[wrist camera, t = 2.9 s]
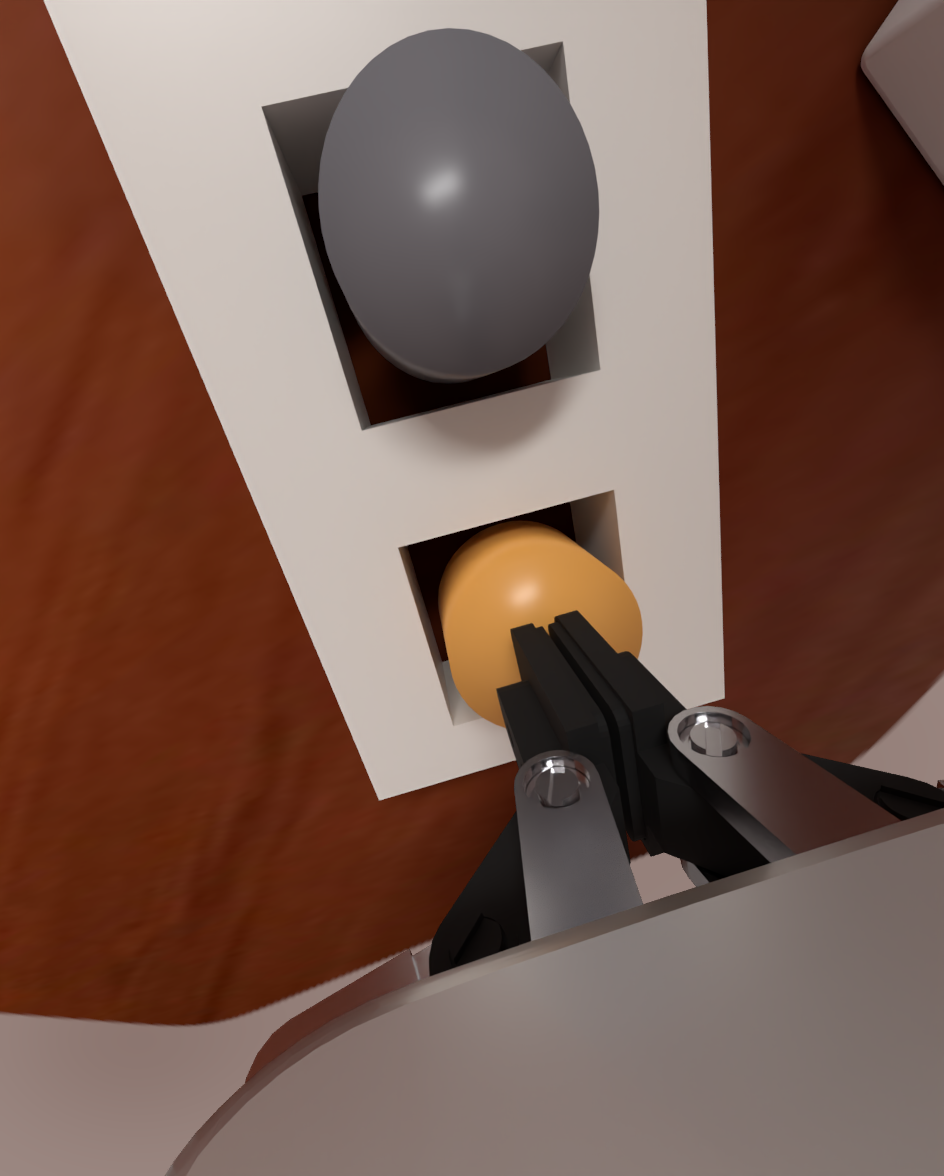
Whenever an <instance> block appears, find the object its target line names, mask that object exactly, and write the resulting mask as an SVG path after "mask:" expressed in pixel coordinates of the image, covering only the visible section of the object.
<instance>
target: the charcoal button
mask: <svg viewBox="0 0 944 1176" xmlns="http://www.w3.org/2000/svg"><path fill="white" fill-rule="evenodd" d="M318 196H319V214H320V222H321V230H322V234H323V239H324V243H325V247H326V251H327V255H328V257H329V260H330V263H331V266H332V269H333V272H334V274H335V276H336V279H337V281H338V283H339V285H340V287H341V289H342V291H343V293H344V295H345V297H346V300H347V302H348V304H349V306H350V308H351V310H352V312H353V314H354V316H355V318H356V320H357V323H358V325H359V326H360V328H361V330H362V331H363V333H364V334H365V336H366V338H367V339H368V340H369V341H370V343H371V344H372V345H373V346H374V348H375V349H376V350H377V351H378V352H379V353H380V354H381V355H382V356H383V357H384V358H385V359H386V360H387V361H389V362H390V363H391V364H393V365H394V366H395V367H397V368H398V369H400V370H402V371H403V372H405V373H407V374H409V375H411V376H414V377H416V378H418V379H421V380H425V381H429V382H433V383H442V384H457V383H463V382H469V381H472V380H475V379H478V378H481V377H484V376H486V375H489V374H492V373H494V372H497V371H499V370H502V369H505V368H507V367H510V366H512V365H514V364H516V363H518V362H520V361H522V360H524V359H526V358H527V357H529V356H530V355H532V354H533V353H534V352H536V351H537V350H539V349H540V348H541V347H542V346H543V345H544V344H546V343H547V342H548V341H549V340H550V339H551V338H552V337H553V336H554V335H555V334H556V332H557V331H558V330H559V329H560V328H561V327H562V326H563V324H564V323H565V321H566V320H567V318H568V317H569V315H570V314H571V312H572V311H573V310H574V308H575V306H576V304H577V302H578V300H579V298H580V296H581V294H582V292H583V290H584V287H585V285H586V282H587V279H588V277H589V274H590V271H591V267H592V263H593V259H594V256H595V250H596V244H597V238H598V228H599V194H598V184H597V178H596V172H595V166H594V162H593V158H592V155H591V151H590V147H589V144H588V141H587V139H586V136H585V133H584V131H583V128H582V126H581V123H580V121H579V119H578V118H577V116H576V114H575V112H574V110H573V108H572V106H571V104H570V103H569V101H568V100H567V98H566V97H565V95H564V94H563V92H562V91H561V89H560V88H559V86H558V85H557V84H556V83H555V82H554V80H553V79H552V78H551V77H550V76H549V75H548V74H547V73H546V71H545V70H544V69H543V68H542V67H541V66H539V65H538V64H537V63H536V62H535V61H534V60H532V59H531V58H530V57H529V56H528V55H527V54H525V53H524V52H522V51H520V50H519V49H517V48H516V47H514V46H513V45H511V44H509V43H508V42H505V41H503V40H501V39H498V38H496V37H494V36H491V35H489V34H485V33H481V32H477V31H473V30H469V29H455V28H444V29H436V30H427V31H424V32H421V33H418V34H415V35H411V36H408V37H406V38H404V39H402V40H400V41H398V42H396V43H394V44H393V45H391V46H389V47H388V48H386V49H385V50H384V51H382V52H381V53H380V54H378V55H377V56H376V57H374V58H373V59H372V60H371V61H370V62H369V63H368V64H367V65H366V66H365V67H364V68H363V69H362V70H361V71H360V72H359V73H358V75H357V76H356V77H355V79H354V80H353V81H352V83H351V84H350V86H349V87H348V89H347V90H346V91H345V93H344V95H343V97H342V99H341V100H340V102H339V104H338V106H337V108H336V110H335V112H334V114H333V117H332V120H331V123H330V126H329V128H328V131H327V134H326V137H325V142H324V147H323V151H322V156H321V161H320V171H319V181H318Z"/></svg>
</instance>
